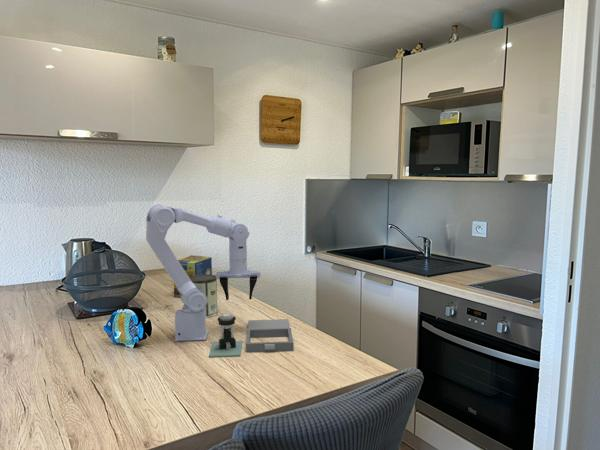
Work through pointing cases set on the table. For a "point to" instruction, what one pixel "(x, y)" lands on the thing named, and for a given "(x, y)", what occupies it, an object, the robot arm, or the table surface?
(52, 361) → the table surface
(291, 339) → the equipment case
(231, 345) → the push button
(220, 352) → the mat
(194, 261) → the protein box
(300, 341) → the table surface
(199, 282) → the coffee can
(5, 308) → the table surface
